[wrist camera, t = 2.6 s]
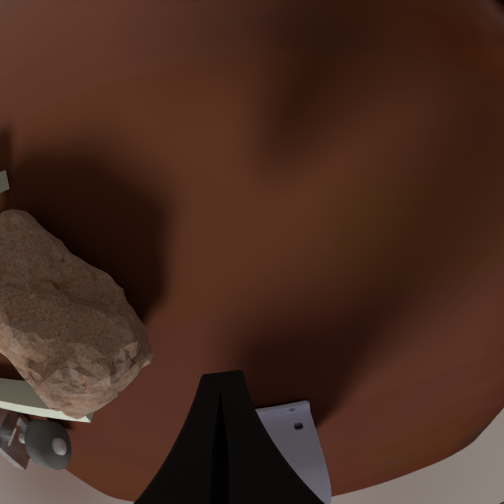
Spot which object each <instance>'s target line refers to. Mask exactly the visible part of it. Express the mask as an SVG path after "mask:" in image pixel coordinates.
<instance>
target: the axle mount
mask: <svg viewBox="0 0 504 504" xmlns="http://www.w3.org/2000/svg"><path fill="white" fill-rule="evenodd" d="M29 423H30V421H29V420H28V419H27V418H26V417H25V415H24V414H23V413H22V412H17V411H12V410H8V409H3V408H0V454H1V455H2V456H3V457H5V458H6V459H7V460H8V461H9V462H10V463H11V464H13V465H14V466H15V467H18V468H21V469H24V470H26V468H27V464H28V461H29V459H30V456H29V455H28V453H27V450H26V447H25V444H24V443H21V442H20V440H19V434H20V433H24V434H25V430H26V427H27V425H28V424H29ZM16 424H17V425H18V428H17V430H16V432H15V435H14V437H13V439H12V442H11V444H10V447H9V446H8V445H7V444H8V442H9V440H10V437H11V435H12V433H13V430H14V428H15V426H16Z"/></svg>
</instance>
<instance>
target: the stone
mask: <svg viewBox="0 0 504 504" xmlns="http://www.w3.org/2000/svg"><path fill="white" fill-rule="evenodd" d="M147 337H148V333H147V329H146V327H145V326H144V325H143V323H142V322H141V321H140V319H139V318H138V316H137V315H136V313H135V311H134V309H133V308H132V307H131V306H130V304H129V303H128V302H127V300H126V297H125V295H124V290H123V288H121V287H119V286H118V285H117V284H116V283H115V281H114V280H113V279H112V277H111V276H109V275H108V274H107V273H106V272H104V271H102V270H99V269H97V268H95V267H94V266H91V265H89V264H88V263H86V262H85V261H83V260H82V259H80V258H79V257H77V256H75V255H73V254H72V253H70V252H69V250H68V249H67V248H66V247H65V245H64V244H63V242H62V241H61V240H60V239H58V238H56V237H54V236H53V235H52V234H51V233H49V232H48V231H47V230H45V229H44V228H43V227H42V226H41V225H40V224H39V223H37V221H36V219H35V218H34V217H33V216H31V215H30V214H29V213H27V212H26V211H21V210H15V209H13V210H7V211H3V212H2V213H1V214H0V353H2V354H3V355H5V356H6V357H7V358H8V359H9V360H10V361H11V363H12V364H13V365H14V367H15V368H16V369H17V371H18V372H19V373H20V375H21V376H22V377H23V378H24V379H25V380H26V381H27V382H28V383H29V384H30V385H31V386H32V387H33V388H34V391H35V392H36V393H37V395H38V396H39V397H40V398H41V400H42V401H43V402H44V403H45V405H46V406H48V407H49V408H50V409H52V410H54V411H57V412H58V411H62V412H63V413H64V415H66V416H69V417H72V418H75V419H80V418H83V417H84V416H86V415H88V414H89V413H92V412H94V411H97V410H99V409H100V408H101V407H103V406H104V405H106V404H107V403H110V402H111V401H112V400H113V399H114V398H116V397H117V396H118V394H119V392H120V391H122V390H124V389H125V387H126V386H127V385H129V384H130V383H131V381H132V380H133V379H134V378H135V377H136V376H137V375H138V373H139V371H140V369H142V368H143V367H144V366H146V365H148V364H150V363H151V361H152V358H153V352H152V349H151V346H150V344H149V343H148V341H147Z"/></svg>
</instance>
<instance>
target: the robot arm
mask: <svg viewBox="0 0 504 504" xmlns="http://www.w3.org/2000/svg"><path fill="white" fill-rule="evenodd" d="M330 503H331V487H330V481H329V476H328V471H327V467H326V463H325V459H324V456H323V453H322V449H321V446H320V442H319V439H318V435H317V432H316V429H315V425H314V422H313V418H312V415H311V412H310V404H309V402H308V401H300V402H295V403H290V404H284V405H279V406H273V407H267V408H260V409H255V408H254V405H253V403H252V401H251V398H250V396H249V393H248V390H247V386H246V381H245V377H244V372H243V371H241V370H236V371H228V372H220V373H211V374H203V375H202V376H201V379H200V383H199V386H198V389H197V392H196V395H195V398H194V401H193V403H192V406H191V408H190V411H189V413H188V415H187V418H186V420H185V422H184V425H183V427H182V429H181V431H180V433H179V435H178V437H177V439H176V441H175V443H174V445H173V447H172V449H171V451H170V453H169V454H168V456H167V458H166V460H165V461H164V463H163V464H162V466H161V468H160V469H159V471H158V472H157V474H156V475H155V477H154V478H153V479H152V481H151V482H150V484H149V485H148V486H147V488H146V489H145V490H144V492H143V493H142V494H141V495H140V497H139V498H138V499H137V500H136V501H135V502H134V504H330ZM500 504H504V502H502V503H500Z"/></svg>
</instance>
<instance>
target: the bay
mask: <svg viewBox="0 0 504 504" xmlns="http://www.w3.org/2000/svg"><path fill="white" fill-rule="evenodd" d="M8 189H10V188H9V183H8V179H7V174H6V170H5V171H2V172H0V193H1V192H3V191H6V190H8ZM0 408H3V409H8V410H12V411H17V412H22V413H27V414H32V415H38V416H44V417H50V418H57V419H64V420H73V421H82V422H91V419H92V416H93V413H94V412H92V413H89V414H88V415H86V416H84V417H83V418H80V419H75V418H72V417H69V416H66V415H64V413H63V412H62V411H58V412H57V411H54V410H52V409H50V408H49V407H48V406H46V405H45V403H44V402H43V401H42V400H41V398H40V397H39V396H38V395H37V393H36V392H35V391H34V388H33V387H32V386H31V385H30V384H29V383H28V382H27V381H19V380H11V379H4V378H0Z"/></svg>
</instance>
